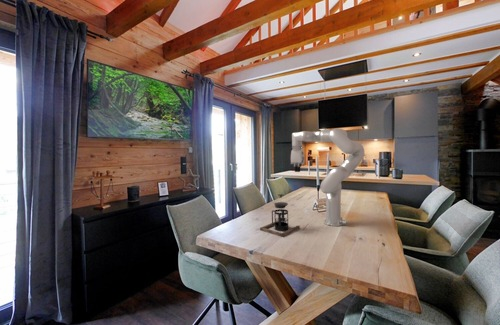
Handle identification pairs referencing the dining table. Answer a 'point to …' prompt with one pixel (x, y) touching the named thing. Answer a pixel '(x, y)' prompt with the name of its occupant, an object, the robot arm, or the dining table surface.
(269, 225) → the walnut bay
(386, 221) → the dining table surface
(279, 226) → the french press
